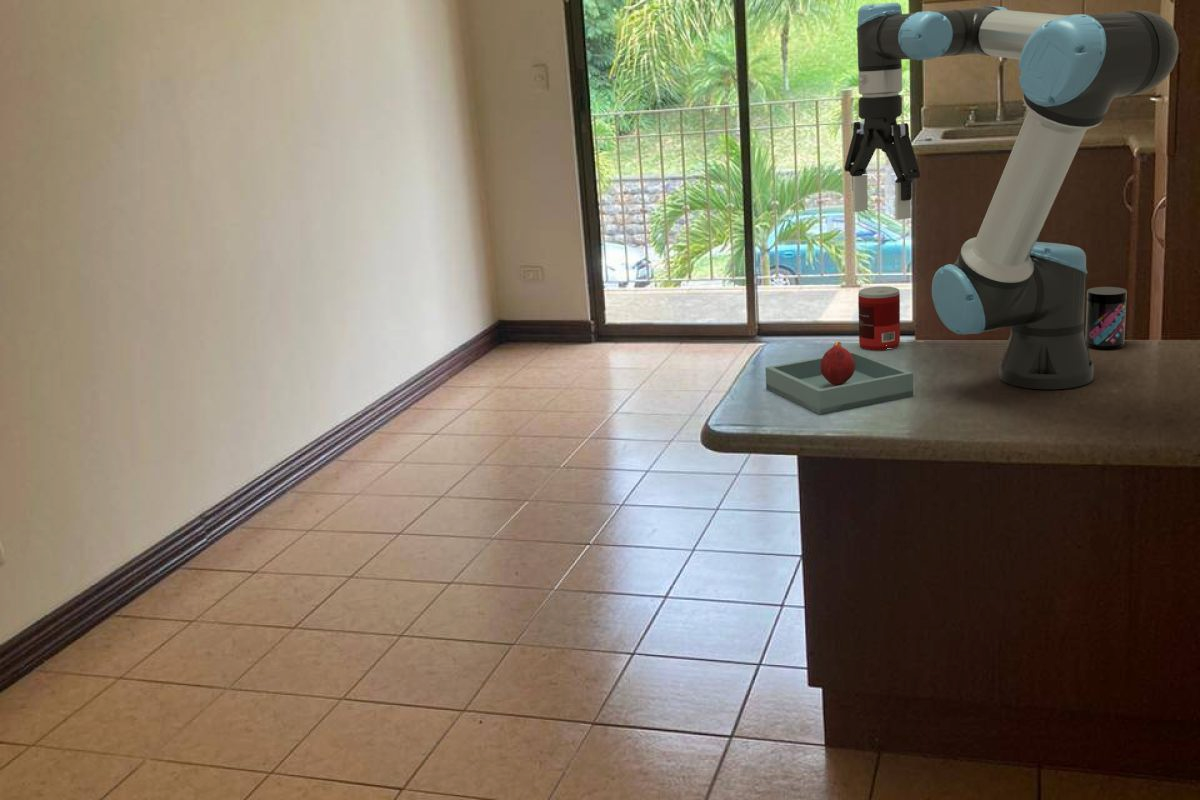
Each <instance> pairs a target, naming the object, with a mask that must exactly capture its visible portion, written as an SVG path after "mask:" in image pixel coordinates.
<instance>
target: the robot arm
mask: <svg viewBox="0 0 1200 800" xmlns="http://www.w3.org/2000/svg"><path fill="white" fill-rule="evenodd" d="M901 5H902V4H900V2H888V3H887V2H886V3H874V4H863V5H862V6H860V7H859V8H858V11H857V26H856V35H857V37H856V39H857V67H858V69H857V70H858V77H857V78H858V79H857V81H858V93H859V94H860V95H861V97H859V98H858V101H857V102H858V117H859V118H860V119H861V121H854V122H853V128H852V137H851V141H850V144H849V148H848V152H847V156H846V160H845V164H844V169H843V170H844V171H845V172H849V175H850V176H851V181H852V182H851V184H852V185H851V186H852V189H851V190H852V212H854V213H856V212H858V213H859V212H866V211H868V209H869V206H868V205H869V204H868V203H869V201H868V197H869V195H868V171H867V168H868V166H869V164H870V162H871V160H872V158H873V156H874V154H875V152H876V150H881V152H882V153H883V152H884V153H885V155H886V157H887V158H888V162H889V163H890V166H891V167H892V169H893V172H894V175H895V176H896V180H895V181H894V182H895V183H894V185H895V186H894V194H895V195H894V196H895V197H894V205H895V206H894V207H895V208H894V213H895V215H894V216H895V217H894V219H895V220H898V221H899V220H906V219H911V218H912V215H911V214H912V213H911V212H912V211H911V210H912V206H911V205H912V203H911V202H912V201H911V200H912V191H913V190H912V186H913V181H914V180H915V179H919V178H921V172H920V170H919V169H920V168H919V166H918V162H917V161H918V160H917V159H916V158H917V157H916V156H915V151H914V147H913V144H912V141H911V138H910V127H909V126H910V125H909V123H904V122H903V123H897V118H898V117H901V116H902V114H903V97H902V95H901V94H899V93H901V92H902V91H903V68H902V67H903V65H902V64H903V63H902V61H903V60H915V61H925V60H926V61H927V60H932V59H936V58H943V57H952V56H953V57H954V56H961V55H962V56H964V55H965V56H966V55H980V56H988V57H989V56H990V57H998V58H1002V59H1003V58H1005V59H1011V60H1018V71H1019V72H1020V73H1021V74H1020V76H1019V77H1018V82H1019V85H1020V88H1021V90H1022V92H1023V94H1022V100H1023V101H1022V102H1023V103H1024V105H1025V107H1026V109H1027V110H1028V111H1027V114H1026V116H1025V118H1024V120H1023V123H1022V126H1021V128H1020V130H1019V133H1018V134H1017V138H1016V140H1015V143H1014V145H1013V147H1012V150H1011V152H1010V155H1009V157H1008V159H1007V162H1006V164H1005V167H1004V169H1003V172H1002V174H1001V177H1000V179H999V182H998V184H997V186H996V189H995V190H994V194H993V195H992V196H993V197H992V199H991V201H990V203H989V205H988V208H987V211H986V214H985V216H984V217H983V221H982V223H981V225H980V228H979V231H978V233H977V234H976V235H977V236H976V237H972V238H969V239H968V240H966V241H965V242H964V243H963V244H962V246H961V249H960V252H959V253H958V256H957V259H956V261H955V262H954V263H953V264H951V263H949V264H945V265H944V266H941V267H940V268H938V270H936V271H935V274H934V276H933V278H932V281H931V282H932V283H931V297H932V298H931V299H932V301H933V305H934V310H935V312H936V313H937V315H938V317H939V320H940V321H941V322H942V324H943V325H944V326H945V327H946V328H947V329H948V330H950V331H951V332H952V333H955V334H958V335H973V334H974V335H975V334H976V335H977V334H981V333H985V332H990V331H996V330H999V329H1000V330H1001V329H1005V328H1010V335H1009V338H1008V339H1007V342H1006V343H1007V344H1006V346H1005V350H1004V353H1003V357H1002V358H1001V360H1000V362H999V364H998V368H999V370H998V371H999V372H998V377H999V380H1000V381H1002V382H1003V383H1006V384H1008V385H1012V386H1015V387H1019V388H1020V387H1021V388H1025V389H1033V390H1034V389H1035V390H1063V389H1064V390H1066V389H1072V388H1078V387H1079V388H1080V387H1082V386H1085V385H1088V384H1090V383H1091V382H1093V379H1094V363H1093V361H1092V360H1091V356H1090V355H1091V354H1090V350H1089V347H1088V346H1087V344H1086V340H1085V338H1086V336H1085V333H1084V332H1085V311H1086V310H1085V309H1086V296H1087V275H1088V270H1087V255H1086V252H1085V251H1084V250H1083V249H1082V248H1081V247H1078V246H1074V245H1071V244H1070V245H1069V244H1063V243H1057V242H1044V241H1037V240H1038V238H1039V236H1040V232H1041V231H1042V229H1043V227H1044V225H1045V222H1046V220H1047V218H1048V216H1049V214H1050V211H1051V210H1052V207H1053V205H1054V202H1055V200H1056V198H1057V196H1058V194H1059V191H1060V189H1061V187H1062V184H1063V183H1064V180H1065V178H1066V177H1067V173H1068V171H1069V169H1070V167H1071V165H1072V162H1073V161H1074V158H1075V156H1076V153H1077V152H1078V150H1079V147H1080V145H1081V142H1082V141H1083V139H1084V136H1085V135H1086V132H1087V130H1090V129H1092V128H1096V127H1098V126H1100V125H1101V124H1102V122H1103V121H1104V118H1106V117H1105V116H1106V114H1107V112H1108V110H1109V109H1110V108H1109V107H1110V105H1111V103H1112V102H1113V100H1114V99H1115V98H1116V99H1117V98H1123V97H1130V96H1136V95H1141V94H1144V93H1147V92H1149V91H1150V90H1153V89H1155V88H1156V87H1158V86H1159V85H1160V84H1161V83H1163V82H1164V80H1166V79H1167V77H1169V75H1170V73H1171V72H1172V70H1173V69H1174V68H1175V65H1176V62H1177V60H1178V55H1179V39H1178V36H1177V33H1176V30H1175V29H1174V27H1173V25H1172V24H1170V22H1169V21H1168V20H1167V19H1166V18H1164V17H1163V16H1162V15H1159V14H1157V13H1156V12H1154V13H1153V12H1150V11H1147V10H1127V11H1120V12H1119V11H1118V12H1109V13H1098V14H1097V13H1096V14H1083V13H1082V14H1076V13H1074V14H1070V15H1068V14H1067V15H1066V14H1055V13H1043V12H1035V11H1033V12H1032V11H1022V10H1021V11H1020V10H1010V9H1008V8H1006V7H1003V6H994V5H993V6H992V5H989V6H988V5H986V6H981V7H975V8H964V9H963V8H962V9H947V10H935V11H934V10H927V11H926V10H925V11H922V10H921V11H918V12H917V11H916V12H910V13H903V12H902V11H903V10H902V6H901Z"/></svg>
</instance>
